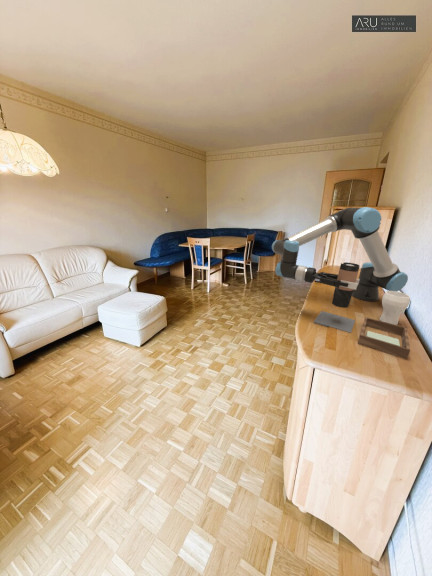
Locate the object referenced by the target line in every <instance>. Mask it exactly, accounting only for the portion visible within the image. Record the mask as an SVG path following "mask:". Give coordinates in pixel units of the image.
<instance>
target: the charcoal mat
mask: <svg viewBox="0 0 432 576" xmlns="http://www.w3.org/2000/svg"><path fill="white" fill-rule="evenodd" d="M355 322H356V319H353V318H349V317H346V316H343V315H342V316H341V315H338V314H334V313H331V312H327V311H323V310H322V311H320V313H319V314H318V315H317V316H316V317H315V319H314V321H313V324H317V325H320V326H322V327H326V328H333V329H336V330H338V331H343V332H345V333H349V334H351V333H352V332H353V331H352V330H353V328H354V326H355Z"/></svg>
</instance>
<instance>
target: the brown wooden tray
mask: <svg viewBox="0 0 432 576" xmlns="http://www.w3.org/2000/svg"><path fill="white" fill-rule="evenodd" d="M362 322H363V323H362V327H361V330H360V334H359V338H358V341H357V344H358V345H360V346H362V347H363V346H364V347H367V348H370V349H373V350H377V351H380V352H383V353H386V354H389V355H392V356H395V357H398V358H401V359H404V360H408V357H409V354H410V352H411V347H410V339H409V333H408V328H407V327H405V326H403V325H398V324H397V325H394V324H390V323H387V322H383V321H381V320H380V319H379V320H378V319H374V318H371V317H367V316H365V317H364V320H363V321H362ZM366 327H369V328H372V329H375V330H380V331H382V332H387V333H390V334H393V335H397V336H401V344H402V345H400V346H398V345H395V344H391V343H388V342H385V341H381V340H378V339H375V338H371V337H368V336H365V335H366V334H365V330H366Z"/></svg>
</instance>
